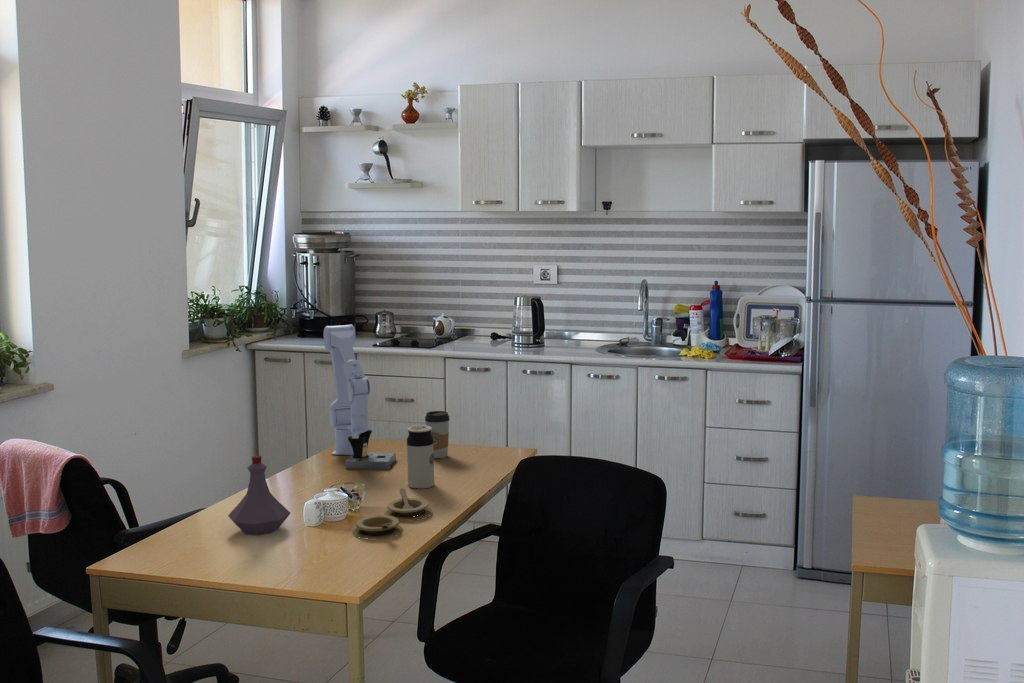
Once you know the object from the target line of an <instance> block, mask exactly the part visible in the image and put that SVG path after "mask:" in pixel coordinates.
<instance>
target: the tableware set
mask: <svg viewBox="0 0 1024 683" xmlns="http://www.w3.org/2000/svg"><path fill="white" fill-rule="evenodd" d="M399 494H400V497H401V498H398V499H394V500H391V501H390V502H388V503H387V505H386V508H387V510H386V511H384V515H383V514H379V515H378V514H377V515H368V516H365V517H361V518H359V519H358V520H356V522H355V528H353V530H352V532H351V534H352V533H353V534H352V536H354V535H355V536H357V537H360V538H359V539H361V538H368V539H379V540H384V539H383V538H387V539H391V538H390V537H392V538H395V537H397V536H399V535H401V534H402V533H403V530H404V529H403V527H402V525H400V522H410V521H409V520H415V521H418V520H417V519H421V520H423V519H422V518H425V517H427V518H429V517H430V516H429V515H431V514H432V515H433V509H431V507H429V501H427V500H425V499H423V498H418V497H408V495H407V491H406V488H405V487H401V488H399ZM422 510H423V511H424V512H423V511H422ZM393 514H394V515H393ZM419 514H420V515H419ZM417 515H418V516H417ZM432 515H431V516H432ZM413 516H415V517H413ZM428 516H429V517H428ZM425 519H426V518H425ZM399 520H400V521H399ZM401 532H402V533H401ZM400 533H401V534H400ZM398 534H399V535H398ZM396 535H397V536H396ZM355 536H354V537H355ZM394 536H395V537H394ZM357 537H356V538H357Z"/></svg>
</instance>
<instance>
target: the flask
mask: <svg viewBox="0 0 1024 683" xmlns="http://www.w3.org/2000/svg"><path fill="white" fill-rule="evenodd" d="M251 461H252V463H251V464H249V465H248V466H247V467H246V468H247V470H248V472H249V474H250V476H249V482H248V487H247V492H246V494H245V495H244V496H243V497H242V499H241V500H240V502H238V504H237V505H236V506H235V507H234V508H233V510H232V511H230V513H229V514H228V515H227V517H228V518H229V519H230V520H231V521H232V523H234V524H235V526H236V527H238V528H239V529H240V531H242V533H244V535H247V536H256V537H257V536H264V535H269V534H272V533H275V532H276V531H278V529H279V528H280V527H281V526H283V524H284V522H285V521H286V520H287V519H288V517H289V516H290V515H291V512H290V510H288V508H286V507H285V506H284V505H283V504H282V503H280V502H279V500H278V499H276V497H274V495H273V494H272V493H271V492H270V489H269V486H268V482H267V480H266V476H265V474H266V473H265V472H266V470H267V468H268V467H267V465H266V464H264V463H263V462H262V456H261V455H253V456H251Z"/></svg>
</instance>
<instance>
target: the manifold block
mask: <svg viewBox="0 0 1024 683" xmlns="http://www.w3.org/2000/svg"><path fill="white" fill-rule="evenodd" d="M396 454H397V453H396V452H386V451H385V452H382V451H381V452H380V451H379V452H378V451H377V452H376V451H375V452H374V451H372V452H371V451H369V452H368V451H367V456H368V458H363V459H355V456H354V453H353V454H352V455H349V457H348V458H347V459H346V460H345V461H344V463H345V466H344V467H345V469H346V470H347V469H349V470H350V469H352V470H355V469H356V470H389V469H390V467H391V466H393V464H394V463H393V462H395V461H396V460H397V458H396V457H397V456H396Z"/></svg>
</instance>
